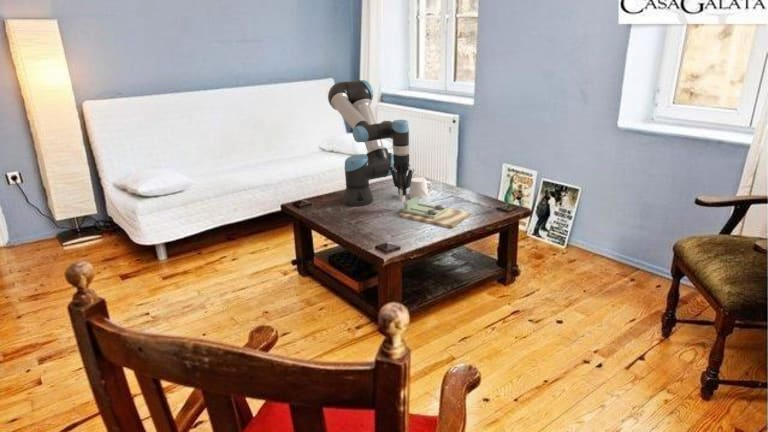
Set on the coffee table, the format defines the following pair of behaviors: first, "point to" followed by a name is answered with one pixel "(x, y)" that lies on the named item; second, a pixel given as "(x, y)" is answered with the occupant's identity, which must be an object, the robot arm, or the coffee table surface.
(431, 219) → the board
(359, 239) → the coffee table surface
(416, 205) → the panel
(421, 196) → the mug
